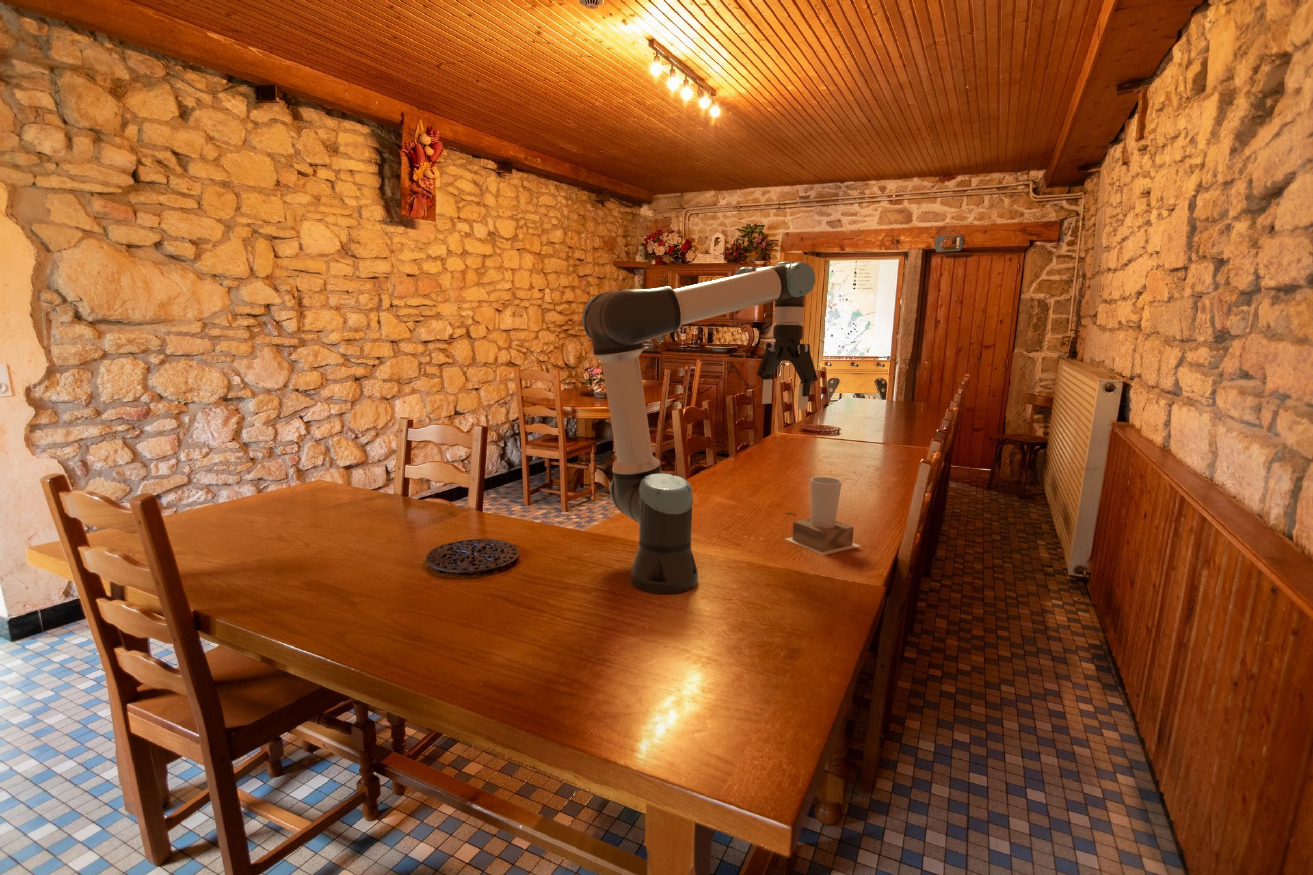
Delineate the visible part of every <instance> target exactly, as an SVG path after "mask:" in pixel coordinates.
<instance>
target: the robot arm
mask: <svg viewBox="0 0 1313 875" xmlns="http://www.w3.org/2000/svg"><path fill="white" fill-rule="evenodd" d="M815 284H816V273H815V270H814V268H813V267H812V266H811V265H810V264H809V263H807V262H805V261H804V262H803V261H781V262H780V261H779V262H777V264H776V265H771V266H763V267H753V266H749V267H747V266H746V267H743V266H742V267H740V268H739V269H738V270H737V271H736V272H735V273H734V275H733V276H729V277H728V276H727V277H723V278H719V279H715V280H711V281H706V282H700V283H697V284H692V285H688V286H684V287H679V288H672V287H671V286H668V285H666V286H661V287H655V288H644V289H642V288H641V289H639V288H638V289H622V290H614V291H611V290H610V291H608V290H607V291H605V292H602V293H600V294H599V293H598V294H597V295H595V296H593V297H592V298H591V299H590V300H588V302H587V304H586V305H585V306H584V308H583V311H582V318H581V322H582V323H581V324H582V327H583V331H584V333H585V335H586V336H587V337H588V338H589V340H591V341H590V342H591V347H592V352H593V356H594V357H595V358H596V359H597V360H599V361H600V362H601V365H602V372H603V373H602V374H603V379H604V385H605V391H606V397H607V405H608V410H609V416H610V423H611V430H612V437H613V442H614V448H615V455H616V463H615V464H614V465H613V466H612V477H613V478H612V479H611V481H610V485H609V486H610V487H609V494H610V498H611V501H612V503H613V504H614V506H615V507H616V509H618V511H620V512H621V513H622V514H624V515H625V516H627V517H629V518H630V519H631V520H633V522H636V523H637V524H638V525H639V528H638V529H639V531H638V535H639V536H638V537H639V538H638V539H639V540H638V545H639V546H638V549H637V552H636V555H635V558H634V561H633V565H632V567H631V570H630V582H631V584H632V585H633V586H634V587H635V588H637V589H639V590H642V591H644V592H648V593H652V594H662V595H669V594H670V595H671V594H679V593H683V592H686V591H689V590H692V589H693V588H695V587H696V586H697V584H698V583H699V581H698V580H699V571H698V568H697V565H696V561H695V557H694V554H693V551H692V528H693V527H692V524H693V521H692V520H693V504H694V496H693V488H692V485H691V483H690V482H689V481H688V480H686V478H683V477H682V476H678V475H673V474H670V473H663V472H662V466H661V461H660V459H658V458H656V456H654V454H653V446H652V442H651V441H652V440H651V435H650V434H651V433H650V427H649V419H648V413H647V407H646V406H647V405H646V398H645V391H644V383H643V379H642V378H643V377H642V370H641V366H640V365H641V364H640V355H641V353H642V352H643V351H644V349H645V345H644V343H645V342H647V341H650V340H652V339H656V338H658V337H662V336H665V335H668V334H670V333H675V332H678V331H679V330H680V329H681V327H682V325H683V326H684V325H688V324H691V323H695V322H698V321H701V320H706V319H710V318H715V317H718V316H721V315H725V314H731V313H733V312H737V311H741V310H744V309H749V308H752V307H756V306H761V305H765V304H769V303H772V302H774V312H773V323H775V325H774V326H773V327H772V328H773V329H772V330H773V332H772V338H773V340H774V341H775V342H767V343H766V344H765V351H764V353H763V356H762V359H761V361H760V363H759V365H758V369H757V371H756V376H757V377H759V378H761V391H762V393H761V394H762V397H761V398H762V399H761V404H763V405H767V404H772V400H773V399H772V397H773V381H774V380H773V379H772V378H773V374H774V373H775V372H776V370H777V369H778V367H779V366H780V364H781V363H782V362H784V361H786V362H790V363H791V364H792V366H793V368H794V369H795V372H796V374H797V375H798V377H799V380H800V383H798V396H797V410H808V408H809V406H808V405H809V397H810V395H811V386H812V385H811V384H812V383H814V382H817V381H818V375H817V372H816V368H815V365H814V361H813V358H812V355H811V345H810V344H809V343H801V341H802V340H803V338H804V336H803V335H804V327H803V326H804V325H802V324H803V323H804V318H805V317H804V315H805V302H806V296H807V295H809V294H810V293H811V292H812V290H813V289H814V287H815Z"/></svg>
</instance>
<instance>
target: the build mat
mask: <svg viewBox="0 0 1313 875" xmlns="http://www.w3.org/2000/svg"><path fill="white" fill-rule="evenodd" d="M792 538H793V536H791V537H787V538H785V540H786V541H789V542H791V543H793V544H796V545H798V546H800V547H802V548H805V549H807V550H811V551H812V552H814V553H816V554H817V553H818V554H819V555H821V556H824V555H828V554H829V555H830V554H834V553H837V552H841V551H845V550H850V549H854V548H859V547H861V545H859V544H857V543H854V542H853V543H852V545H850V546H846V547H842V548H838V549H834V550H830V551H825V552H821V551H819V550H817V549H814V548H812V547H809V546H807V545H804V544H802V543H800V542H797V541H795V540H792Z"/></svg>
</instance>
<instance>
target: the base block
mask: <svg viewBox="0 0 1313 875" xmlns="http://www.w3.org/2000/svg"><path fill="white" fill-rule="evenodd" d="M792 537H793V538H792V540H795V541H797V542H800V543H802V544H804V545H807V546H809V547H812V548H814V549H817V550H819V551H821V552H825V551H830V550H834V549H838V548H842V547H846V546H850V545H852V543H854V541H853V540H854V526H853V525H850V524H847V523H844V522H841V521H838V520H836V525H835V527H832V528H821V527H816V526H813V525H812V524H811V517H810V518H805V519H801V520H796V521H793V524H792Z"/></svg>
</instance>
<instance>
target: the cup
mask: <svg viewBox="0 0 1313 875" xmlns="http://www.w3.org/2000/svg"><path fill="white" fill-rule="evenodd" d="M842 483H843V481H842V480H840V479H838V478H835V477H828V476H816V477H811V478H810V507H811V508H810V514H811V515H810V516H811V517H810V518H811V524H812V525H813V526H816V527H821V528H832V527H835V525H836V521H837V516H838V510H839V502H840V496H841V490H842V485H843V484H842Z"/></svg>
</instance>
